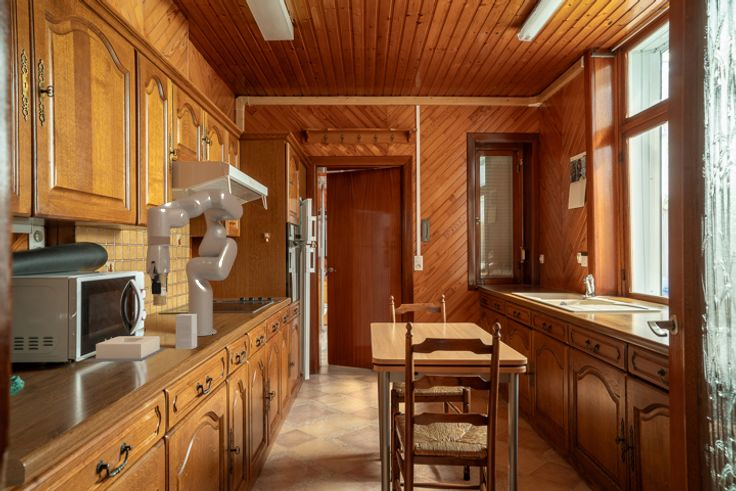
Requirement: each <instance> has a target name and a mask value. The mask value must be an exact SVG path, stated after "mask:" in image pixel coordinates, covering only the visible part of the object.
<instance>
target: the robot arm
mask: <svg viewBox="0 0 736 491" xmlns="http://www.w3.org/2000/svg"><path fill="white" fill-rule="evenodd" d="M202 214H204V218H205V223H206V232H205V234H204V235H203V236H204V237H203V239H202V240H201V243H200V244H199V247H198V255H199V256H198V257H197V256H196V257H192V258H190V259H189V260H188V261H186V265H185V274H186V278H187V286H188V288H187V290H188V291H187V292H188V293H187V295H188V299H187V300H188V301H187V302H188V304H187V305H188V306H187V309H188V311H187V314H197V337H204V336H205V337H207V336H212V334H213V335H216V334H217V332H218V331H217V329H214V328H213V327H214V326H213V325H214V324H213V321H214V320H213V319H214V317H213V316H214V315H213V314H214V310H213V309H214V308H213V307H214V304H213V303H214V300H213V298H214V295H213V294H214V293H213V292H214V290H213V287H212V285H211V284H210V282H209V281H224V280H226V279H227V278H228V276H229V274H230V273H231V270H232V267H233V265H234V264H235V263H234V262H235V261H236V257H237V254H238V244H237V242H236V241H235V240H234V238H232V237H227V235H228V233H227V230H226V228H225V226H224V225H223V224H222V221H238V220H240V219H241V218H242V216H243V214H244V208H243V205H242V204H241V202H240V201H239V200H238V199H237V198H236V197H235V196H234V195H233V194H232V193H231V192H229V191H228V190H227V189H225V188H204V189H200V190H198V191H196V192H195V193H194V192H193V193H192V194H190V195H188V196H186V197H182V198H178V199H175V200H172V201H168V202H165V203H161V204H160V205H157V206H154V207H148V209H147V210H146V225H147V226H146V233H147V234H146V236H147V239H146V240H147V249H146V258H145V259H146V262H145V263H146V264H145V273H146V274H147V275H149V277H150V283H151V286H150V287H151V288H150V289H151V295H153V294H161V283H160V277H161V274H163V273H164V271H165V269H166V293H167V292H168V276H169V273H170V271H171V256H170V255H171V254H170V247H171V229H181V228H185V227H186V226H187V225H188V223H189V220H190V219H192V218H193V219H194V218H197V217H199V216H201V215H202ZM155 272H158V274H154V273H155ZM157 276H158V278H157Z"/></svg>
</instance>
